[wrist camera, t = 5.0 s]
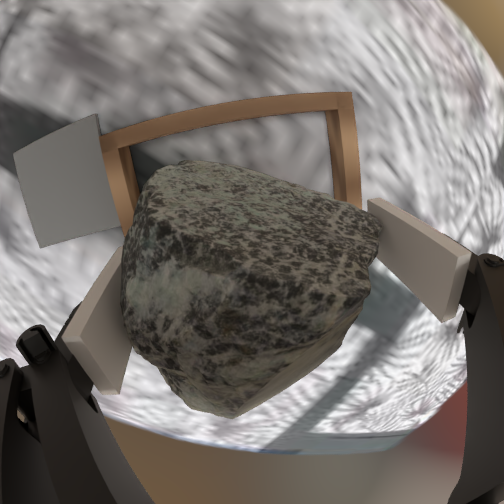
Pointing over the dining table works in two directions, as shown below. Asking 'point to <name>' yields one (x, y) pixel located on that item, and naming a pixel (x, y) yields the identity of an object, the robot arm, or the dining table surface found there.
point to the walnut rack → (332, 103)
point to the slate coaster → (66, 183)
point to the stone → (240, 281)
